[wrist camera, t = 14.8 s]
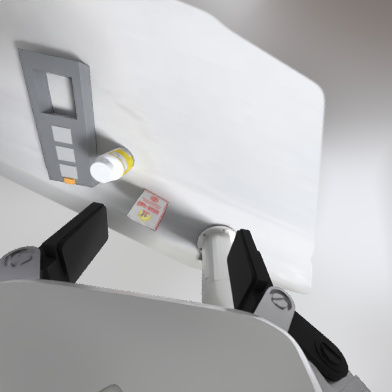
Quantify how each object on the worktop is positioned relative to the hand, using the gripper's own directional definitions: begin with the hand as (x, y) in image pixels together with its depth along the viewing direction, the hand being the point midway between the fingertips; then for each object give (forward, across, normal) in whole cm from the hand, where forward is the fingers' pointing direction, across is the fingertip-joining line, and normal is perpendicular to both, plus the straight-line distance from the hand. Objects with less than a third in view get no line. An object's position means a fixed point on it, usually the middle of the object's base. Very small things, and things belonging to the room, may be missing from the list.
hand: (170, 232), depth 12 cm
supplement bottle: (+28, +16, +5) cm, 33 cm away
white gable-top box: (+29, +8, +15) cm, 33 cm away
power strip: (+28, +27, 0) cm, 39 cm away
